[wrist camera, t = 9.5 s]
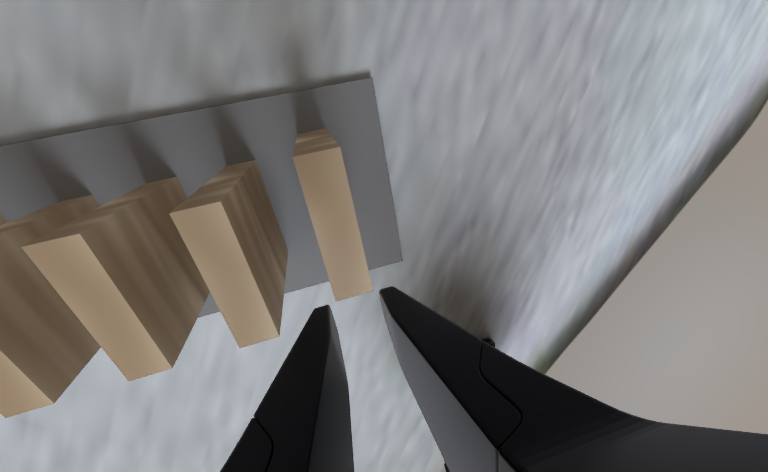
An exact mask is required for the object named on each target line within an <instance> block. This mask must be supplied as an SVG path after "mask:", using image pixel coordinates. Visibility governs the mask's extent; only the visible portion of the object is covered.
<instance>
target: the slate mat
mask: <svg viewBox="0 0 768 472" xmlns="http://www.w3.org/2000/svg"><path fill="white" fill-rule="evenodd" d="M320 129H326V130H327V131H328V132H329V134H330V135H331V136H332V137H333V138H334V140H335V141H336V142H337V143H338V145H339V146H340V148H341V152H342V157H343V161H344V166H345V170H346V174H347V179H348V183H349V188H350V192H351V196H352V201H353V205H354V209H355V214H356V218H357V223H358V227H359V231H360V236H361V240H362V245H363V249H364V253H365V258H366V262H367V267H368V270H371V269H374V268H378V267H382V266H385V265H389V264H392V263H396V262H400V261H403V260H402V254H401V248H400V242H399V236H398V230H397V224H396V218H395V212H394V206H393V200H392V193H391V187H390V181H389V175H388V169H387V163H386V157H385V151H384V145H383V139H382V133H381V127H380V121H379V115H378V109H377V103H376V97H375V91H374V85H373V79H372V78H366V79H361V80H355V81H350V82H345V83H339V84H334V85H328V86H323V87H317V88H312V89H307V90H301V91H296V92H290V93H285V94H279V95H274V96H269V97H263V98H258V99H252V100H247V101H241V102H236V103H230V104H225V105H220V106H214V107H209V108H203V109H198V110H192V111H187V112H182V113H176V114H171V115H165V116H160V117H154V118H149V119H144V120H138V121H133V122H127V123H122V124H116V125H111V126H106V127H100V128H95V129H89V130H84V131H78V132H73V133H68V134H62V135H57V136H51V137H46V138H40V139H35V140H29V141H24V142H19V143H13V144H8V145H2V146H0V214H2V215H3V216H4V218H5V219H6V220H7V222H10V221H13V220H15V219H17V218H20V217H22V216H25V215H27V214H30V213H32V212H35V211H37V210H40V209H42V208H45V207H47V206H50V205H52V204H54V203H57V202H60V201H65V200H69V199H74V198H79V197H84V196H88V195H93V196H94V198H95V199H96V201H97V202H98V204H99V206H102V205H104V204H106V203H108V202H110V201H112V200H114V199H116V198H118V197H120V196H122V195H124V194H126V193H128V192H130V191H132V190H134V189H136V188H137V187H139V186H141V185H143V184H145V183H149V182H154V181H159V180H164V179H168V178H173V177H178V179H179V182H180V184H181V186H182V188H183V190H184V192H185V194H186V196H187V198H188V197H189V196H191V195H192V194H193V193H194V192H196V191H197V190H198V189H199V188H200V187H202V186H203V185H204V184H205V183H207V182H208V181H209V180H210V179H211V178H213V177H214V176H215V175H216V174H217V173H219V172H220V171H221V170H222V169H224V168H225V167H226V166H230V165H234V164H239V163H244V162H248V161H253V160H256V162H257V165H258V168H259V171H260V173H261V176H262V179H263V182H264V185H265V187H266V190H267V193H268V196H269V199H270V201H271V204H272V207H273V210H274V213H275V215H276V218H277V221H278V224H279V227H280V230H281V232H282V235H283V238H284V241H285V244H286V246H287V249H288V260H287V269H286V278H285V288H284V293H288V292H292V291H295V290H299V289H302V288H306V287H310V286H313V285H317V284H320V283H324V282H328V281H330V280H329V277H328V274H327V271H326V267H325V264H324V261H323V257H322V254H321V251H320V247H319V244H318V241H317V237H316V234H315V231H314V227H313V224H312V221H311V217H310V214H309V211H308V207H307V204H306V201H305V197H304V194H303V191H302V187H301V184H300V181H299V177H298V174H297V171H296V167H295V164H294V161H293V157H292V156H293V152H294V147H295V143H296V138H297V134H300V133H305V132H310V131H315V130H320ZM216 312H220V310H219V308H218V306H217V304H216V302H215V300H214V298H213V296H212V294H211V292H210V293H209V295H208V297H207V299H206V301H205V303H204V305H203V307H202V309H201V311H200V314H199V316H198V317H202V316H205V315H209V314H213V313H216Z"/></svg>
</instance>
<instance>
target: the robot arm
mask: <svg viewBox="0 0 768 472" xmlns="http://www.w3.org/2000/svg"><path fill="white" fill-rule="evenodd" d="M379 294H380V299H381V304H382V308H383V313H384V317H385V320H386V323H387V326H388V329H389V333H390V336H391V339H392V342H393V345H394V348H395V351H396V354H397V357H398V360H399V363H400V366H401V368H402V371H403V373H404V375H405V377H406V379H407V382H408V384H409V386H410V388H411V390H412V392H413V394H414V396H415V399H416V401H417V403H418V405H419V407H420V409H421V411H422V413H423V416H424V418H425V420H426V422H427V424H428V426H429V428H430V430H431V433H432V435H433V437H434V439H435V441H436V443H437V445H438V447H439V450H440V452H441V454H442V456H443V458H444V461H445V464H444V465H445V469H446V472H768V434H759V433H750V432H741V431H732V430H722V429H713V428H705V427H695V426H687V425H677V424H669V423H662V422H656V421H651V420H647V419H644V418H640V417H637V416H634V415H631V414H628V413H625V412H623V411H620V410H618V409H616V408H613V407H611V406H609V405H607V404H605V403H602V402H600V401H598V400H596V399H594V398H592V397H590V396H588V395H586V394H584V393H582V392H580V391H578V390H576V389H574V388H571V387H569V386H567V385H565V384H563V383H561V382H559V381H557V380H555V379H553V378H551V377H549V376H547V375H544V374H542V373H540V372H539V371H537V370H535V369H533V368H531V367H529V366H527V365H525V364H523V363H521V362H519V361H517V360H515V359H513V358H512V357H510V356H508V355H506V354H505V353H503V352H501V351H499V350H498V349H496V348H495V343H494V342H493V340H492V339H486V340H483V341H482V340H481V339H479V338H478V337H476V336H474V335H473V334H471V333H469V332H468V331H466V330H464V329H463V328H461V327H459V326H458V325H456V324H454V323H453V322H451V321H450V320H448V319H446V318H445V317H443V316H441V315H440V314H438V313H436V312H435V311H433V310H431V309H430V308H428V307H426V306H425V305H423V304H421V303H420V302H418V301H417V300H415V299H413V298H412V297H410V296H408V295H407V294H405V293H403V292H402V291H400V290H398V289H397V288H395V287H393V286H391V287H388V288H384V289H381V290H380V291H379ZM220 472H354V462H353V447H352V432H351V418H350V403H349V390H348V382H347V376H346V371H345V366H344V360H343V355H342V350H341V345H340V340H339V335H338V330H337V327H336V324H335V320H334V317H333V314H332V311H331V308H330V306H329V305H325V306H322V307H318V308H315V309H314V310H313V312H312V314H311V315H310V317H309V319H308V321H307V323H306V324H305V326H304V328H303V330H302V331H301V333H300V335H299V337H298V338H297V340H296V342H295V344H294V345H293V347H292V349H291V351H290V352H289V354H288V356H287V358H286V359H285V361H284V363H283V365H282V367H281V368H280V370H279V372H278V374H277V375H276V377H275V379H274V381H273V382H272V384H271V386H270V388H269V389H268V391H267V393H266V395H265V396H264V398H263V400H262V402H261V403H260V405H259V407H258V409H257V410H256V412H255V414H254V418H252V419H251V421H250V423H249V424H248V426H247V428H246V430H245V431H244V433H243V435H242V437H241V438H240V440H239V442H238V443H237V445H236V447H235V448H234V450H233V452H232V453H231V455H230V457H229V458H228V460H227V462H226V463H225V465H224V466H223V468H222V469H221V471H220Z"/></svg>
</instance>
